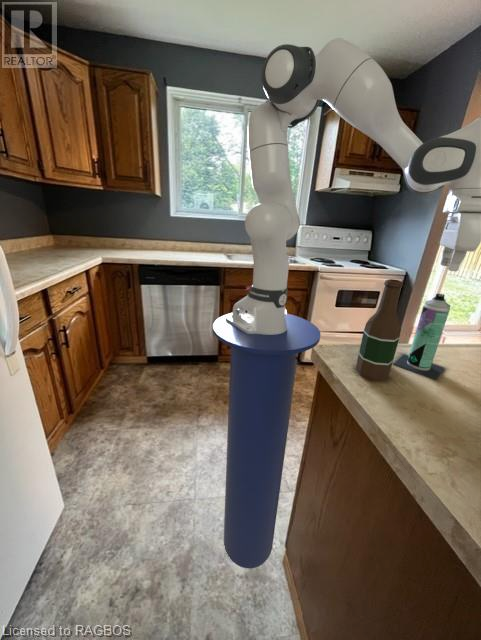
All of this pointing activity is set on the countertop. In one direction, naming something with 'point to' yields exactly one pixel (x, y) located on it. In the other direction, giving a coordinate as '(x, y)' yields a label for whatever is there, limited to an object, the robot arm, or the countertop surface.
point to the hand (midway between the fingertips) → (448, 268)
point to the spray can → (428, 333)
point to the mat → (431, 373)
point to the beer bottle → (381, 335)
